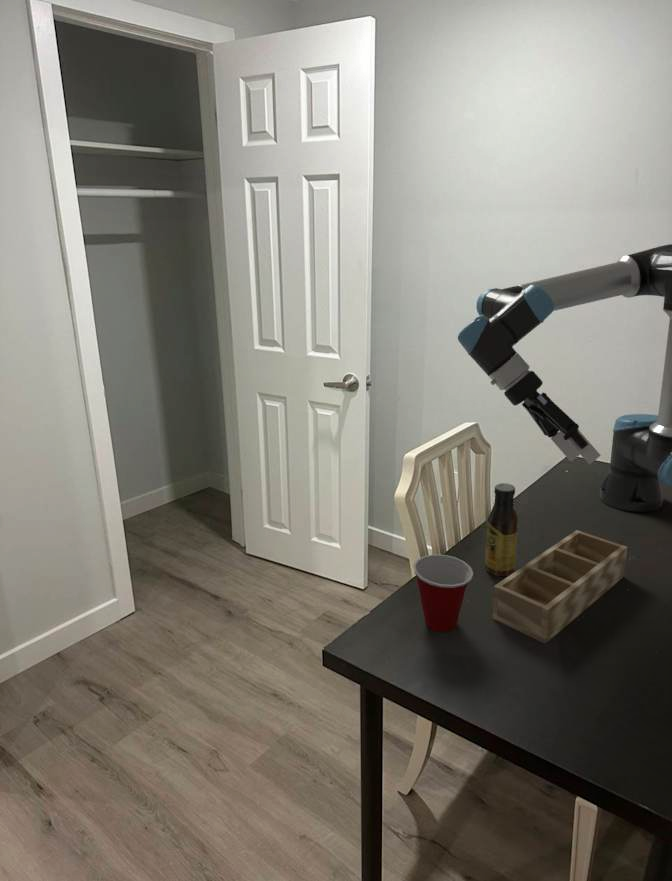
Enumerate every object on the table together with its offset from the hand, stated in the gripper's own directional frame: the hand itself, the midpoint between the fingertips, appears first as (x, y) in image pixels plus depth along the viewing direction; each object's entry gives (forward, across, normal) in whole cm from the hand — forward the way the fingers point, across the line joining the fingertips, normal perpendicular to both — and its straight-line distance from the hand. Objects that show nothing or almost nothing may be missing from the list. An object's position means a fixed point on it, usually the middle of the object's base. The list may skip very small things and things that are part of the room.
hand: (585, 458), depth 129 cm
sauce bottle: (+8, -4, -28) cm, 30 cm away
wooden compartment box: (+17, +5, -22) cm, 28 cm away
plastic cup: (+4, +14, -43) cm, 45 cm away
